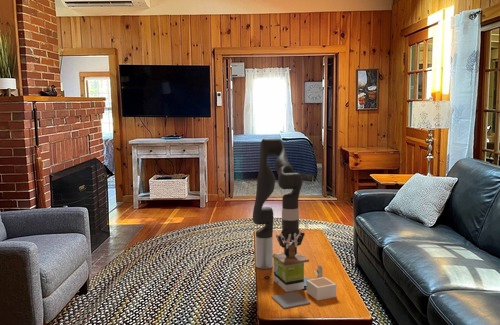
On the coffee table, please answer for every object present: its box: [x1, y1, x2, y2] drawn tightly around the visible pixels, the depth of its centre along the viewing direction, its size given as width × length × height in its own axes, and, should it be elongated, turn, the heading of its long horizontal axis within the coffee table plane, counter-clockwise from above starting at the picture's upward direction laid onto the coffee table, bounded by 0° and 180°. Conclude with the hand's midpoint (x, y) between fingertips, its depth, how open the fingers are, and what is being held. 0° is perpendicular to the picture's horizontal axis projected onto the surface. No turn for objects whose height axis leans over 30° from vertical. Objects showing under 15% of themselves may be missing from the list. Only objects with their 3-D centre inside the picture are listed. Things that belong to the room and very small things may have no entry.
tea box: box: [273, 251, 305, 293], centre depth 216 cm, size 15×10×15 cm, turn 21°
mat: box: [271, 291, 311, 310], centre depth 200 cm, size 13×13×1 cm
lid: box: [273, 242, 310, 266], centre depth 197 cm, size 12×12×7 cm
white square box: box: [306, 276, 337, 301], centre depth 205 cm, size 10×10×6 cm
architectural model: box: [313, 263, 323, 278], centre depth 225 cm, size 3×7×7 cm, turn 0°
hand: (290, 255), depth 197 cm, fingers closed on lid, 3 cm apart
